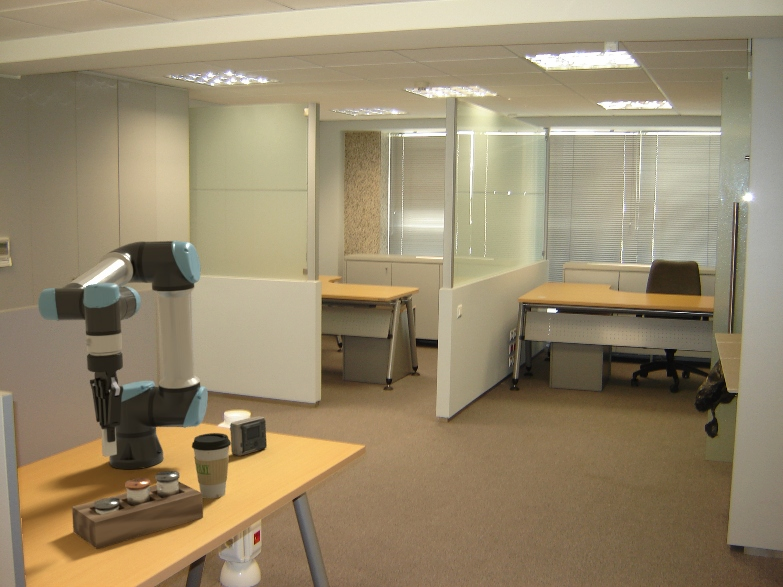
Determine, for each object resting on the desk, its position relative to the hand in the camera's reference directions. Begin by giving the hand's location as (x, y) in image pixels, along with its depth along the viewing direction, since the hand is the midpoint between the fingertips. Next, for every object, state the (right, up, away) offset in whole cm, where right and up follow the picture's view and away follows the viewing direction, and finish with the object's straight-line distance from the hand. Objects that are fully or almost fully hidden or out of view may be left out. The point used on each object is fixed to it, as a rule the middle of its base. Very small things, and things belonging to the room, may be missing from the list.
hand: (109, 454), depth 183 cm
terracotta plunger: (+5, -14, +6) cm, 16 cm away
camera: (+21, -12, +62) cm, 67 cm away
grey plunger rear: (+10, -14, +11) cm, 20 cm away
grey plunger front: (-1, -18, +1) cm, 18 cm away
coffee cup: (+18, -16, +26) cm, 35 cm away
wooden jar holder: (+5, -18, +6) cm, 19 cm away
